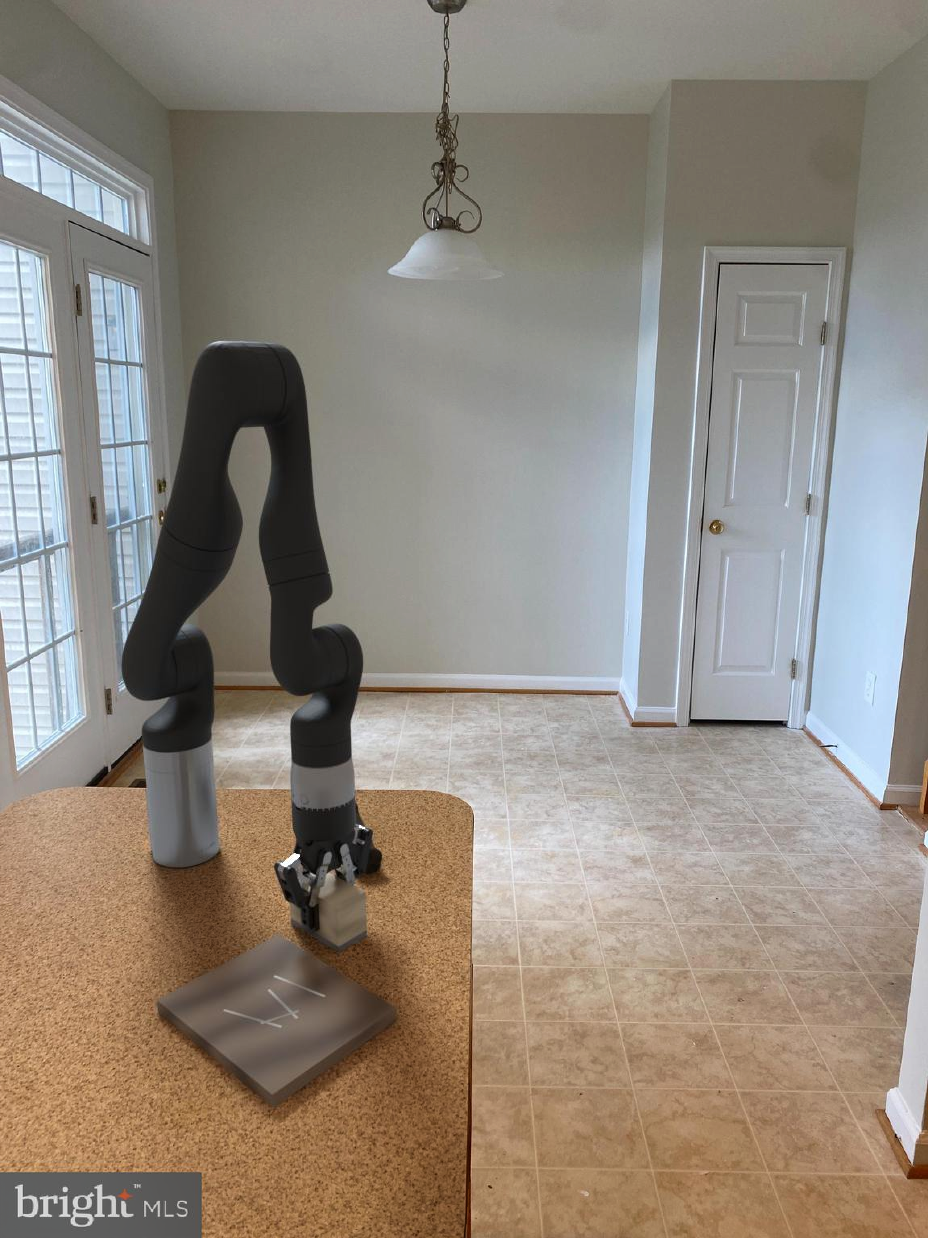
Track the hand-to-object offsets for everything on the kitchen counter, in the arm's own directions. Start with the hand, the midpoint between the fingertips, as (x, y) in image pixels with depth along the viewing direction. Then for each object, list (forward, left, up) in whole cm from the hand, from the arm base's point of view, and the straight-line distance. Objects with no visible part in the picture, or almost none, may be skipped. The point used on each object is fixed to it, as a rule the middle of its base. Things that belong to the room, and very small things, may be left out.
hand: (328, 919), depth 110 cm
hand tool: (-14, +17, -2) cm, 22 cm away
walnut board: (+8, -14, -1) cm, 16 cm away
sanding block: (0, 0, -1) cm, 1 cm away
